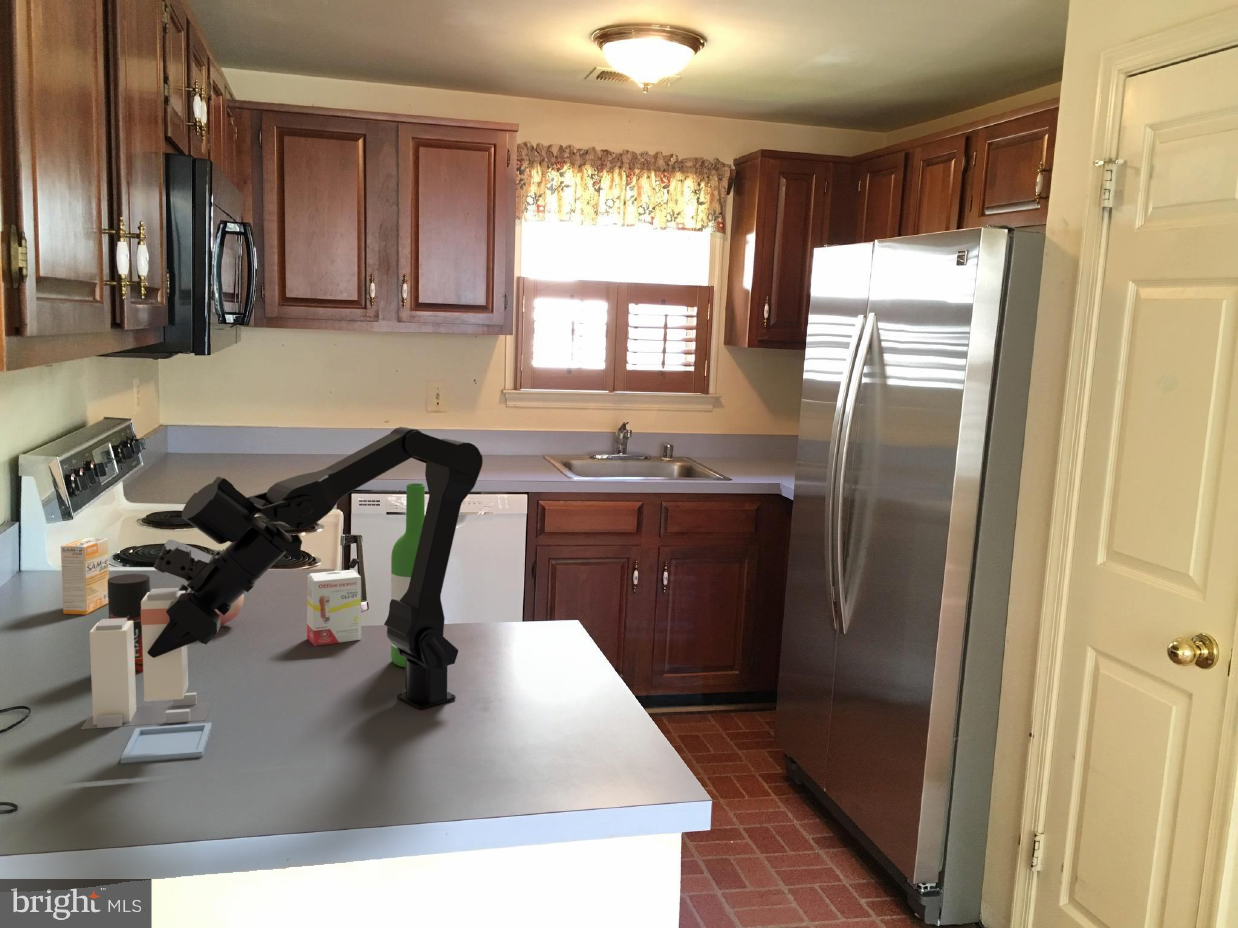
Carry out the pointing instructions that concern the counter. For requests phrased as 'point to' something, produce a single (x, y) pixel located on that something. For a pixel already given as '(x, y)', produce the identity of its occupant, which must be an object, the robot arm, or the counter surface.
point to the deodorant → (129, 606)
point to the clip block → (156, 714)
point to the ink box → (333, 607)
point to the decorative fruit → (231, 611)
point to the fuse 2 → (169, 669)
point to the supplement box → (85, 575)
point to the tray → (167, 743)
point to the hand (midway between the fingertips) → (153, 648)
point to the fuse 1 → (113, 668)
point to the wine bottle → (407, 551)
